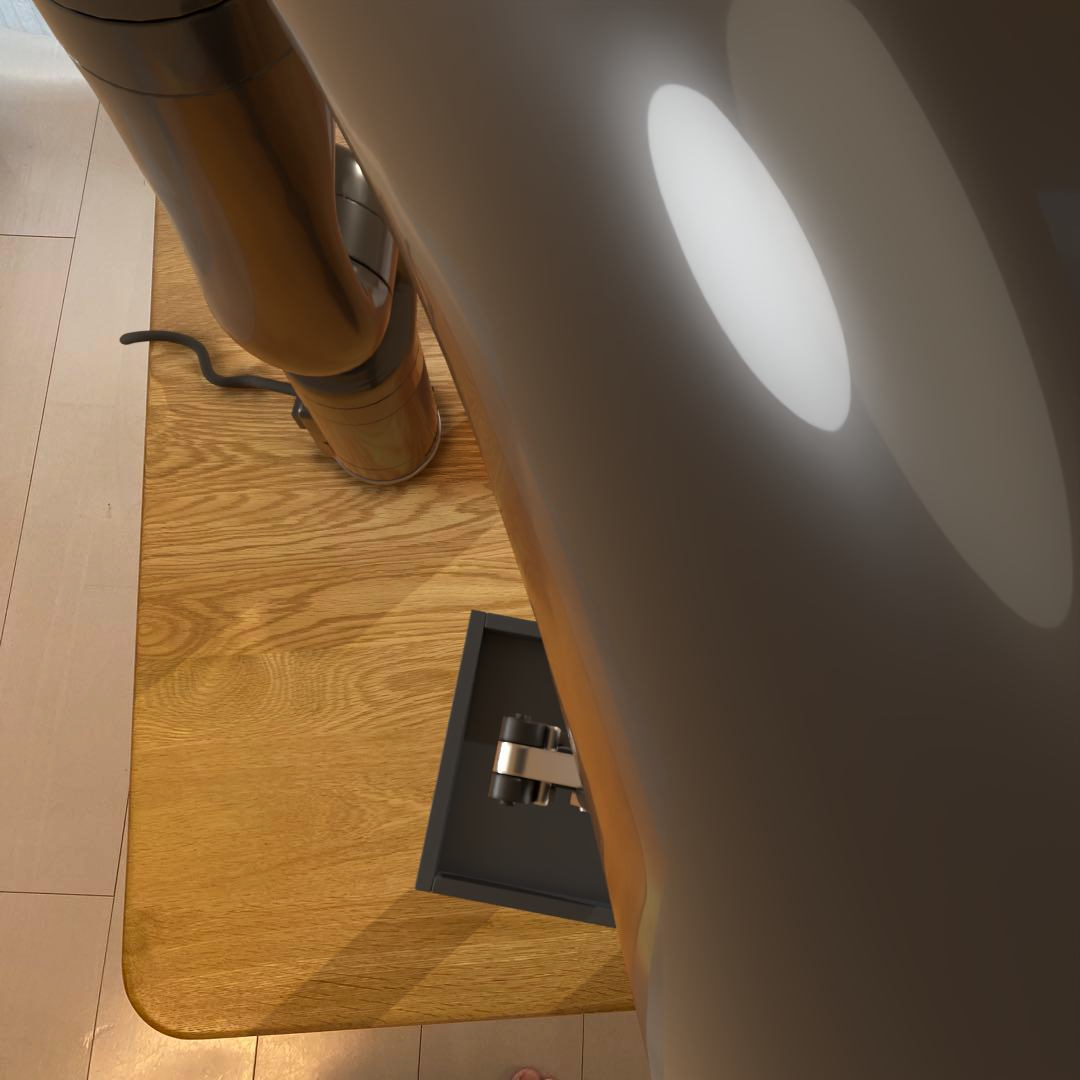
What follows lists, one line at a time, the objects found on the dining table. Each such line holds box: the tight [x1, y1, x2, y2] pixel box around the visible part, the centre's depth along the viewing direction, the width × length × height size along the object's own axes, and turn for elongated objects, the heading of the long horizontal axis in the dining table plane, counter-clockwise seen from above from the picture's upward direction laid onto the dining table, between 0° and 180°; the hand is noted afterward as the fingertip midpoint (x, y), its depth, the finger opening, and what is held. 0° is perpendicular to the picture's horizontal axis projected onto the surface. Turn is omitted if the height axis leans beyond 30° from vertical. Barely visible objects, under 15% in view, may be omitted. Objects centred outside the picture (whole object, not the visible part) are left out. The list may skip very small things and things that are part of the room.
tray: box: [414, 609, 617, 930], centre depth 59 cm, size 20×14×28 cm
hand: (666, 786), depth 37 cm, fingers closed on cork, 5 cm apart
